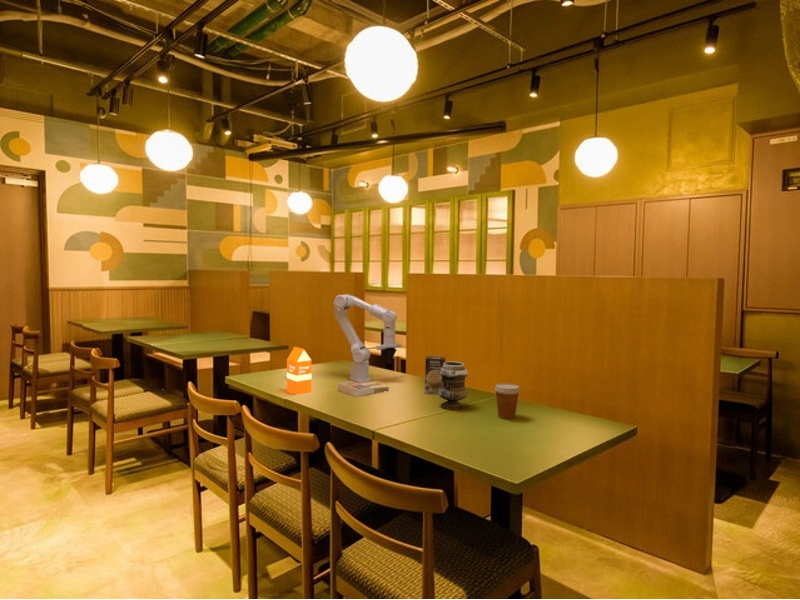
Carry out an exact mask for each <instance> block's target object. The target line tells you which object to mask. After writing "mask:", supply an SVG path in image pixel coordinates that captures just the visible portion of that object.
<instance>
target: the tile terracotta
mask: <svg viewBox="0 0 800 600" xmlns="http://www.w3.org/2000/svg"><path fill="white" fill-rule="evenodd" d="M347 386H350V387H353V388H356V387H358V386H362V384H359V383H358V382H355V383H351V384H347Z"/></svg>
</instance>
